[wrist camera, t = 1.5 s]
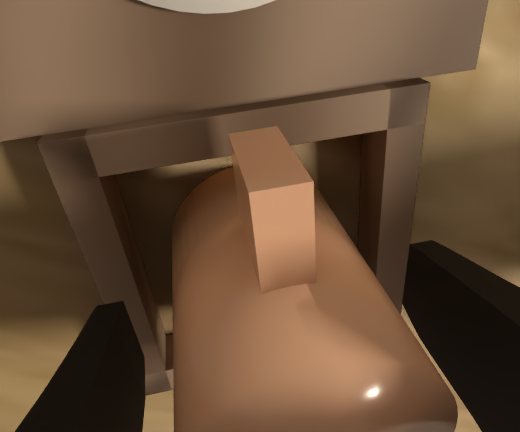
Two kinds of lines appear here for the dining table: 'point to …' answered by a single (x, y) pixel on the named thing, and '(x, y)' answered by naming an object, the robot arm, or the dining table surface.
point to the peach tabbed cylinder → (287, 312)
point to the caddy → (223, 108)
